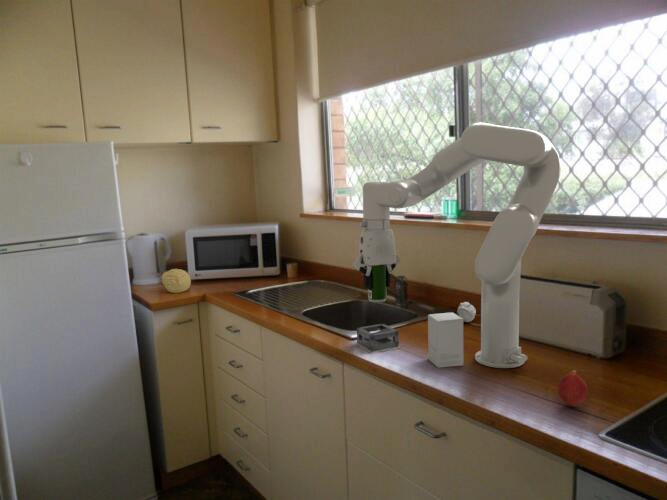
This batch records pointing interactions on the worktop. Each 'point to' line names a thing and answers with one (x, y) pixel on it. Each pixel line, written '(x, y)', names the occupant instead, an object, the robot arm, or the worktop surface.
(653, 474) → the worktop surface
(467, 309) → the crumpled paper ball
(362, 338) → the collar stand
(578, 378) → the onion
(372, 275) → the beer can
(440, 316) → the supplement box
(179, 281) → the pale yellow bumpy ball
